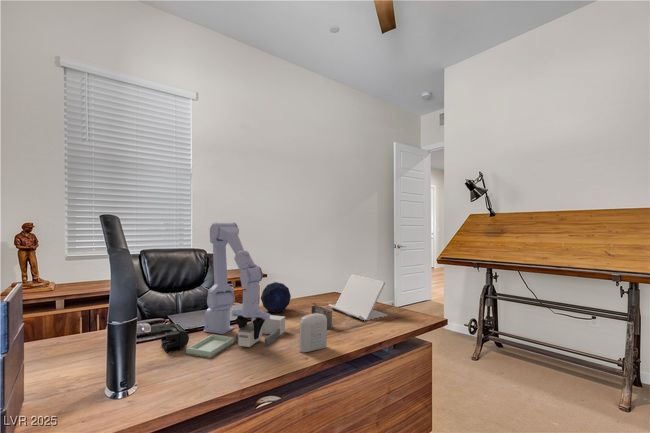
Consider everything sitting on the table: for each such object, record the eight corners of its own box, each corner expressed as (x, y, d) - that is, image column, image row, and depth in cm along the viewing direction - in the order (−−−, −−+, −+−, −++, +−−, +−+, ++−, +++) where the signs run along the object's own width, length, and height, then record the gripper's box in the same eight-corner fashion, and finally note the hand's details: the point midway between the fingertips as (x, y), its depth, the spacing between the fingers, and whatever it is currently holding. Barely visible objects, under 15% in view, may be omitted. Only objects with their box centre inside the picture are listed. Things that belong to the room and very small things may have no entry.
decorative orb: (300, 298, 168) (283, 274, 170) (290, 305, 153) (272, 279, 155) (279, 313, 170) (263, 289, 172) (267, 322, 156) (250, 295, 158)
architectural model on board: (310, 323, 146) (310, 301, 146) (315, 322, 147) (316, 300, 148) (326, 330, 137) (326, 307, 137) (331, 329, 139) (332, 306, 139)
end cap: (188, 349, 114) (189, 329, 114) (166, 353, 110) (167, 333, 110) (181, 340, 122) (182, 322, 122) (160, 344, 118) (161, 325, 118)
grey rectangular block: (237, 346, 115) (237, 330, 115) (251, 336, 124) (251, 322, 124) (248, 347, 114) (249, 331, 114) (261, 338, 123) (262, 323, 123)
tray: (186, 354, 110) (186, 348, 110) (212, 339, 123) (212, 334, 123) (210, 357, 107) (210, 351, 107) (234, 342, 120) (234, 337, 120)
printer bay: (236, 341, 122) (236, 325, 122) (257, 328, 137) (257, 313, 137) (266, 345, 118) (266, 329, 118) (285, 331, 134) (285, 316, 134)
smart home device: (189, 326, 134) (133, 335, 123) (189, 330, 134) (133, 339, 123) (185, 321, 141) (132, 328, 130) (185, 325, 141) (131, 333, 130)
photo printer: (321, 344, 120) (322, 310, 120) (328, 348, 117) (328, 313, 117) (297, 350, 115) (297, 314, 115) (303, 354, 111) (303, 317, 111)
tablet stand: (354, 304, 178) (355, 273, 178) (388, 316, 158) (388, 281, 158) (327, 309, 168) (328, 276, 168) (359, 322, 147) (360, 284, 147)
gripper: (227, 301, 117) (226, 339, 117) (263, 304, 113) (263, 344, 113) (237, 296, 124) (237, 332, 124) (272, 300, 120) (272, 337, 120)
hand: (250, 337), depth 119 cm, fingers closed on grey rectangular block, 4 cm apart
